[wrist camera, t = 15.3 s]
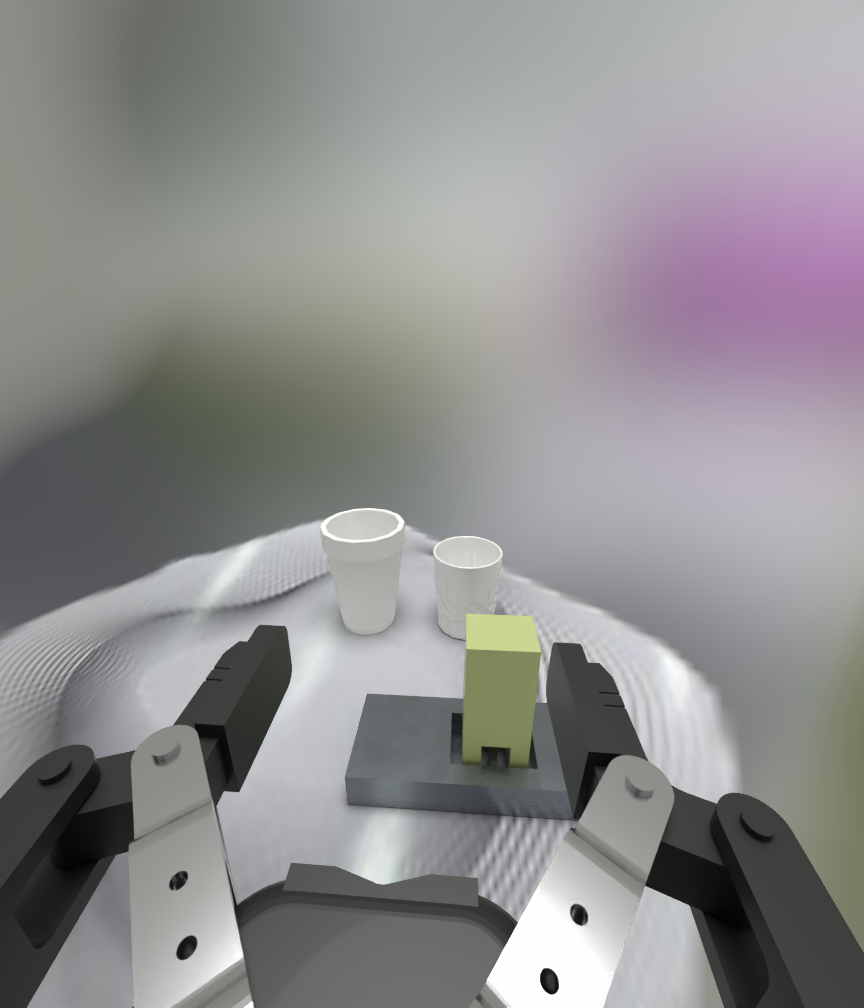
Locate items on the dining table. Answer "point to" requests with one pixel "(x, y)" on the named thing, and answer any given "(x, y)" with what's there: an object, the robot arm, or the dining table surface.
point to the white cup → (465, 580)
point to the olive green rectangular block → (499, 686)
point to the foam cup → (365, 565)
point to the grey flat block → (449, 763)
